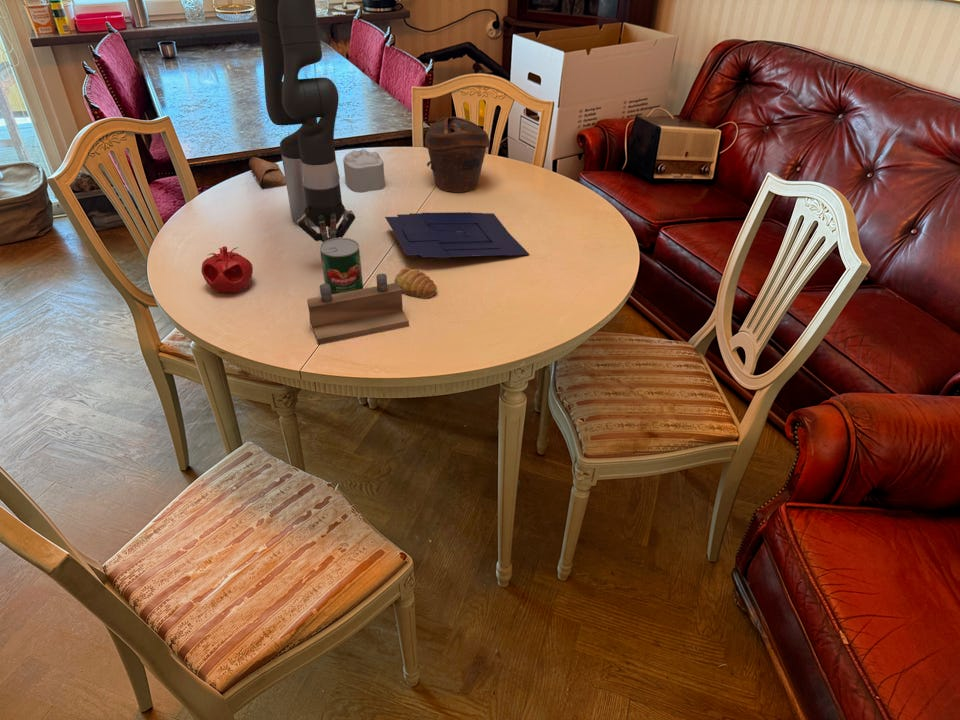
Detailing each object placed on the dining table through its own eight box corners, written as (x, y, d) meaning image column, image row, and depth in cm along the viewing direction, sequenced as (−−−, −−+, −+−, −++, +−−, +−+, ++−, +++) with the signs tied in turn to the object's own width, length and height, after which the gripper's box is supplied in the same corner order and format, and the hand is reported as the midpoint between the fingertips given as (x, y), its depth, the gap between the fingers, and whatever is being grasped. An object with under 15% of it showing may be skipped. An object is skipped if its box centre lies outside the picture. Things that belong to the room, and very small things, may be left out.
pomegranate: (216, 273, 137) (206, 234, 131) (262, 275, 137) (253, 236, 131) (199, 297, 129) (188, 257, 124) (247, 299, 129) (238, 259, 124)
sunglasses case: (292, 184, 176) (276, 166, 172) (272, 200, 176) (256, 182, 171) (277, 163, 189) (262, 146, 184) (259, 178, 189) (244, 161, 184)
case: (447, 166, 191) (447, 106, 180) (501, 183, 183) (504, 121, 172) (409, 184, 180) (407, 120, 169) (464, 202, 171) (466, 137, 160)
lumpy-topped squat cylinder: (353, 194, 173) (350, 163, 168) (340, 177, 182) (337, 147, 177) (388, 188, 177) (386, 158, 172) (374, 172, 186) (372, 143, 181)
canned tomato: (350, 279, 137) (345, 233, 130) (371, 293, 132) (367, 247, 126) (318, 291, 132) (312, 245, 126) (339, 306, 128) (333, 259, 121)
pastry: (444, 290, 135) (443, 275, 132) (424, 304, 130) (423, 288, 128) (410, 277, 139) (410, 262, 136) (390, 289, 134) (389, 274, 132)
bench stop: (310, 322, 123) (303, 282, 118) (397, 305, 129) (395, 267, 124) (318, 344, 118) (311, 304, 112) (409, 325, 123) (407, 286, 118)
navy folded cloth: (382, 223, 156) (383, 210, 154) (491, 222, 167) (493, 209, 165) (407, 270, 138) (408, 255, 136) (528, 265, 149) (530, 251, 147)
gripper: (348, 170, 134) (355, 243, 145) (285, 178, 130) (298, 252, 141) (356, 183, 129) (363, 257, 139) (291, 191, 125) (304, 267, 135)
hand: (330, 254), depth 140 cm, fingers closed
